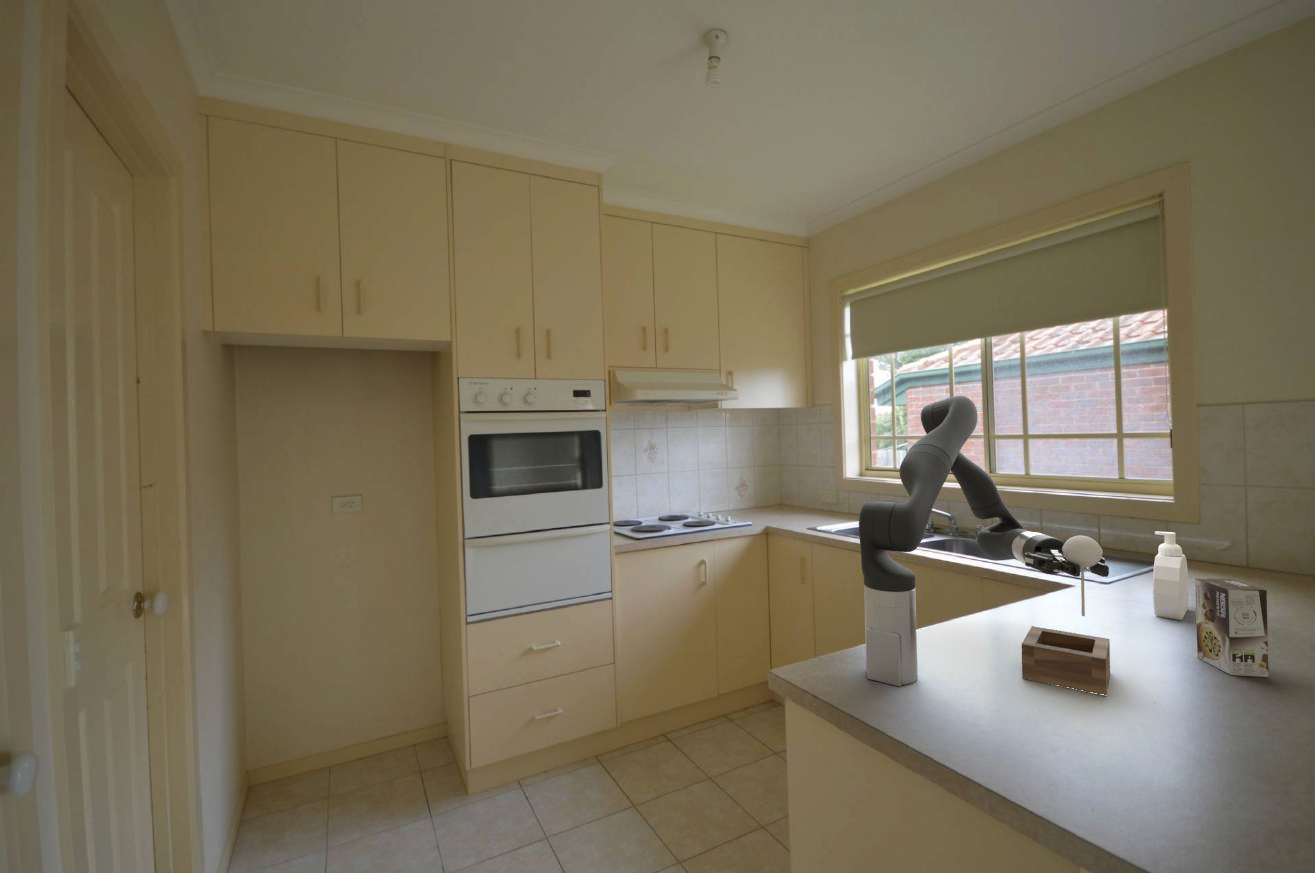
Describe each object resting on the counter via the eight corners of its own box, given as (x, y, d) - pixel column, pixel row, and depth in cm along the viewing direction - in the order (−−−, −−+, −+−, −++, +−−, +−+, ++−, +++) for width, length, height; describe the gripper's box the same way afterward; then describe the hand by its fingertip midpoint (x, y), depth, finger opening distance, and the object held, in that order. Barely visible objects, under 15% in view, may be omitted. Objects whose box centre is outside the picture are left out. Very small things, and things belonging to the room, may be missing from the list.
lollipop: (1097, 612, 111) (1095, 533, 110) (1109, 622, 105) (1108, 539, 105) (1058, 609, 113) (1057, 532, 112) (1068, 619, 107) (1067, 537, 107)
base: (1106, 696, 101) (1105, 659, 101) (1022, 678, 109) (1021, 643, 109) (1110, 672, 111) (1109, 638, 111) (1032, 657, 119) (1031, 626, 119)
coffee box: (1271, 677, 107) (1269, 590, 107) (1229, 675, 108) (1228, 589, 108) (1232, 658, 116) (1231, 577, 116) (1195, 657, 117) (1193, 577, 117)
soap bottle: (1161, 603, 152) (1159, 527, 152) (1188, 607, 148) (1187, 529, 148) (1151, 617, 141) (1149, 535, 141) (1180, 622, 137) (1178, 538, 137)
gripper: (1004, 534, 124) (1050, 550, 107) (1075, 533, 122) (1134, 550, 105) (1004, 569, 124) (1051, 591, 107) (1076, 569, 122) (1134, 592, 105)
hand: (1091, 571), depth 106 cm, fingers closed on lollipop, 4 cm apart
